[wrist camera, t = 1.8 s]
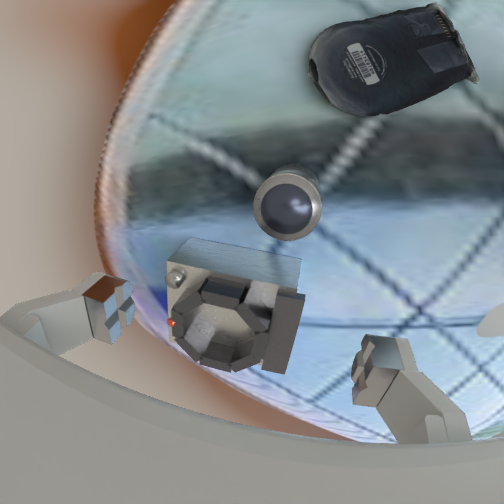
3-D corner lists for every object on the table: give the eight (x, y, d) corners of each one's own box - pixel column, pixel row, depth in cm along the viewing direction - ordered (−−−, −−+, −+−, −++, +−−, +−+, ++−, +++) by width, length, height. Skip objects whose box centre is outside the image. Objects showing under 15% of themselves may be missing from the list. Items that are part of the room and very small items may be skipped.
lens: (325, 168, 27) (327, 182, 21) (315, 219, 29) (314, 248, 23) (271, 158, 28) (256, 169, 21) (264, 209, 30) (248, 235, 23)
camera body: (309, 260, 31) (304, 308, 23) (291, 334, 35) (281, 389, 28) (190, 237, 33) (152, 274, 25) (189, 311, 37) (159, 357, 29)
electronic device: (416, 5, 19) (289, 44, 22) (443, -8, 14) (297, 30, 18) (453, 84, 23) (335, 130, 26) (484, 85, 18) (353, 137, 21)
